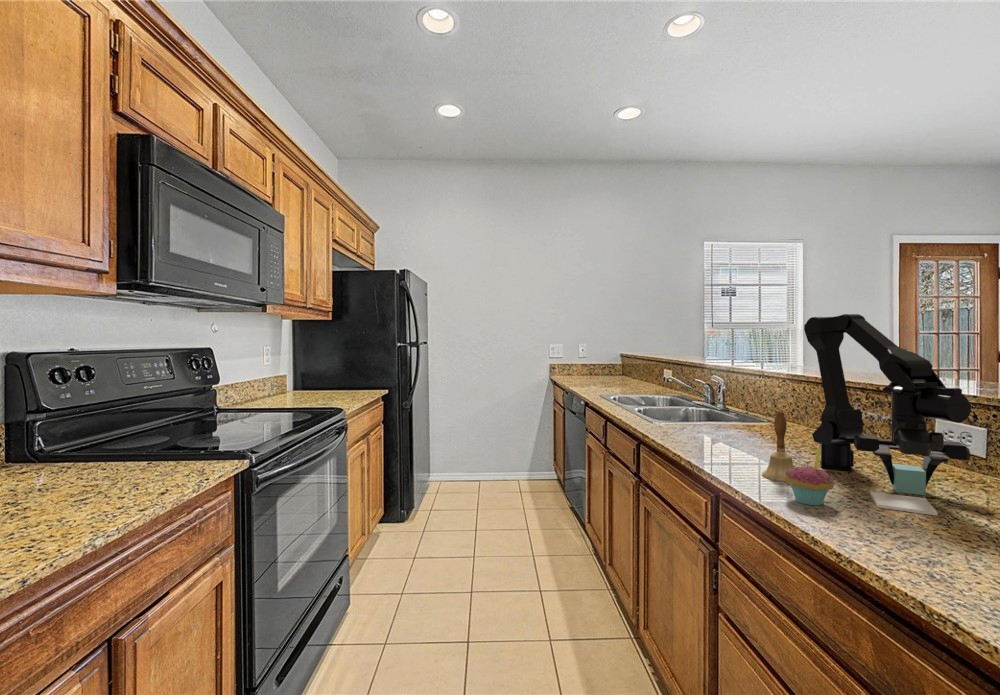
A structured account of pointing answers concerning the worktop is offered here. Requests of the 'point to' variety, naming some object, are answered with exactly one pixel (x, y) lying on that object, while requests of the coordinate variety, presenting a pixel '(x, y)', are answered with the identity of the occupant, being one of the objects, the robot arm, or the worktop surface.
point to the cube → (909, 479)
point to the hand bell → (779, 453)
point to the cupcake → (809, 483)
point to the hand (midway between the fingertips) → (907, 485)
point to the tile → (903, 503)
